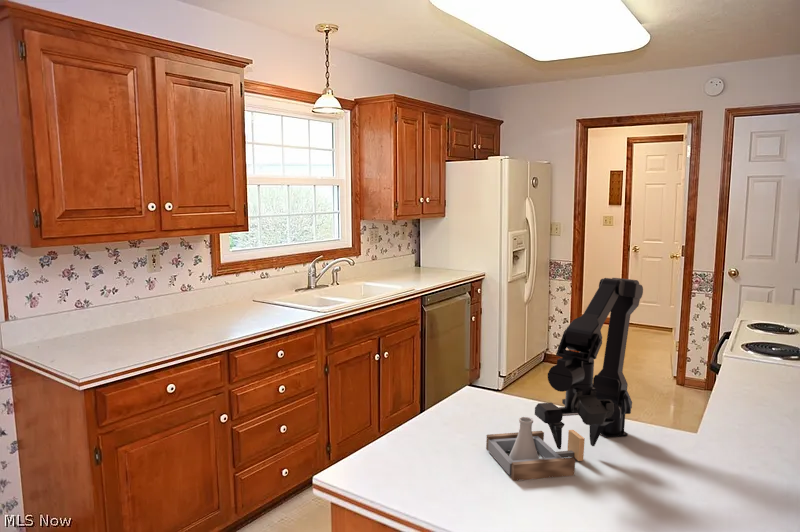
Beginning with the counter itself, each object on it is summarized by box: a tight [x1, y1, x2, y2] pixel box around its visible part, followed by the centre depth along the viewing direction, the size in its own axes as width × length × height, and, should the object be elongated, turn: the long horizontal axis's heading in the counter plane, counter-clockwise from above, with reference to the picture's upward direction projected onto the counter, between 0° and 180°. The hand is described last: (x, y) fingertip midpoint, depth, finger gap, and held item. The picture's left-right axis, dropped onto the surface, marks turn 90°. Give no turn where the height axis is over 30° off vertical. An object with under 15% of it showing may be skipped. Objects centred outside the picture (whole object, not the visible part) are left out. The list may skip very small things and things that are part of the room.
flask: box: [508, 416, 540, 461], centre depth 129 cm, size 7×7×10 cm
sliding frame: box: [487, 429, 586, 476], centre depth 130 cm, size 19×12×5 cm, turn 102°
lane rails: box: [485, 430, 576, 482], centre depth 130 cm, size 14×16×4 cm
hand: (575, 447), depth 132 cm, fingers open, 8 cm apart
